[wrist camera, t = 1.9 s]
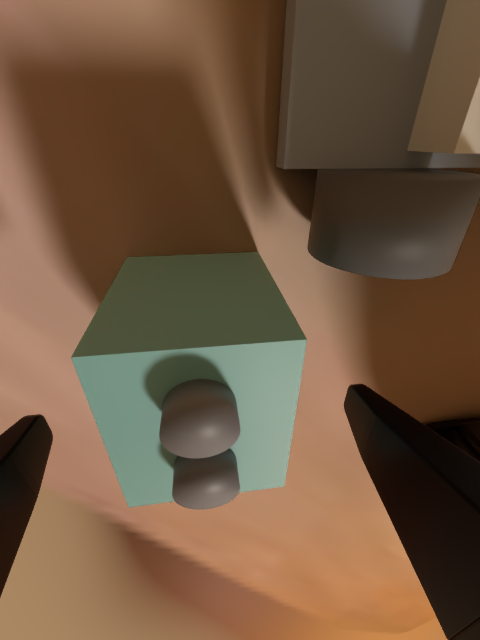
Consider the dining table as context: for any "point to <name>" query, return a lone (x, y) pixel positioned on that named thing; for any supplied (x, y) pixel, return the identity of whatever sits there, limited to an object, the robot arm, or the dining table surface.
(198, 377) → the green cube with knobs
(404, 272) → the chassis
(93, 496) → the dining table surface
